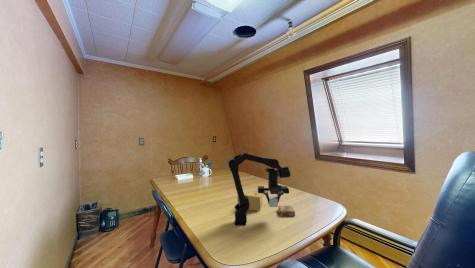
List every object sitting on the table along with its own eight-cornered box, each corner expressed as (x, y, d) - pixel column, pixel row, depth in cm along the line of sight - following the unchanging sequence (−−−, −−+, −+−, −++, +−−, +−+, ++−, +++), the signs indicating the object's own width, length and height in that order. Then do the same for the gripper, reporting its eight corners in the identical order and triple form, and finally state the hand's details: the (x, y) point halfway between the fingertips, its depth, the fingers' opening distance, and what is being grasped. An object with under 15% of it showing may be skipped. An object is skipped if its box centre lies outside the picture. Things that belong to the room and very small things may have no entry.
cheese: (249, 203, 144) (249, 190, 143) (263, 205, 140) (263, 192, 140) (245, 209, 134) (244, 195, 133) (260, 211, 130) (260, 197, 130)
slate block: (269, 207, 117) (269, 198, 116) (268, 203, 122) (268, 195, 121) (277, 207, 116) (277, 199, 116) (276, 203, 121) (276, 196, 121)
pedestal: (280, 215, 123) (280, 211, 123) (278, 209, 132) (278, 205, 132) (294, 216, 123) (294, 211, 123) (291, 210, 132) (291, 205, 132)
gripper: (258, 182, 111) (258, 208, 111) (291, 182, 110) (291, 209, 110) (257, 177, 122) (257, 201, 122) (287, 177, 121) (287, 201, 121)
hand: (273, 203), depth 119 cm, fingers closed on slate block, 5 cm apart
